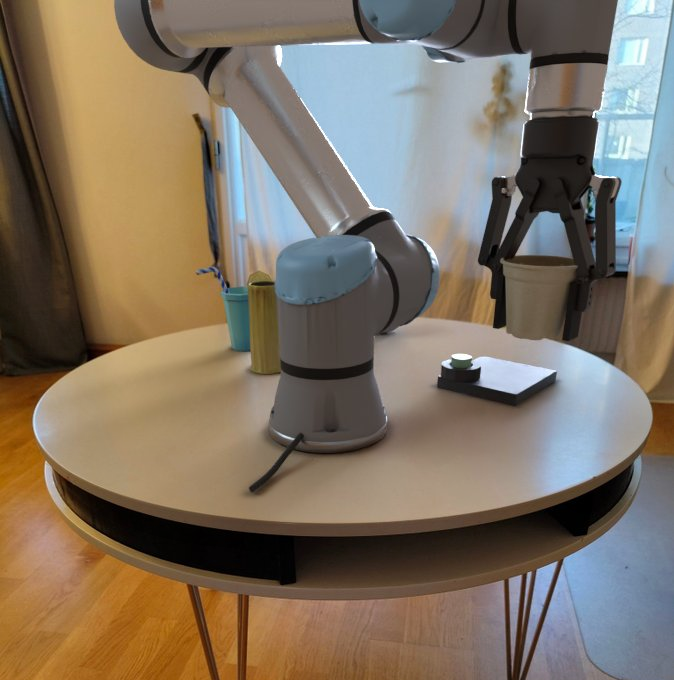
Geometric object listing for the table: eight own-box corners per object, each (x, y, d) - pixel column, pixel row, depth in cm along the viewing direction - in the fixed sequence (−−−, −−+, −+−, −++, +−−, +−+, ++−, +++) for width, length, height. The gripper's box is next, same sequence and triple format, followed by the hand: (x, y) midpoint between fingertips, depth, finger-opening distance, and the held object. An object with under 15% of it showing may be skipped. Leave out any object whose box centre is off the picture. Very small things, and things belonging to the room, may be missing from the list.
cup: (201, 354, 112) (192, 270, 106) (206, 343, 119) (197, 263, 113) (278, 351, 113) (273, 268, 107) (278, 340, 120) (273, 261, 114)
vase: (282, 362, 107) (278, 278, 101) (291, 372, 102) (286, 285, 96) (248, 365, 106) (241, 281, 99) (254, 376, 100) (248, 287, 94)
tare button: (464, 370, 91) (465, 360, 91) (447, 367, 93) (447, 357, 93) (474, 366, 93) (475, 356, 93) (457, 362, 95) (458, 352, 95)
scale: (513, 406, 86) (516, 383, 85) (432, 387, 94) (434, 365, 93) (555, 380, 96) (558, 359, 95) (479, 365, 104) (481, 344, 103)
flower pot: (565, 325, 77) (576, 254, 73) (583, 346, 69) (596, 266, 65) (489, 324, 78) (496, 254, 75) (497, 344, 70) (505, 266, 66)
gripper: (681, 112, 60) (635, 340, 69) (490, 122, 73) (474, 314, 82) (656, 108, 55) (611, 355, 64) (455, 120, 68) (442, 324, 77)
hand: (534, 332), depth 73 cm, fingers closed on flower pot, 8 cm apart
